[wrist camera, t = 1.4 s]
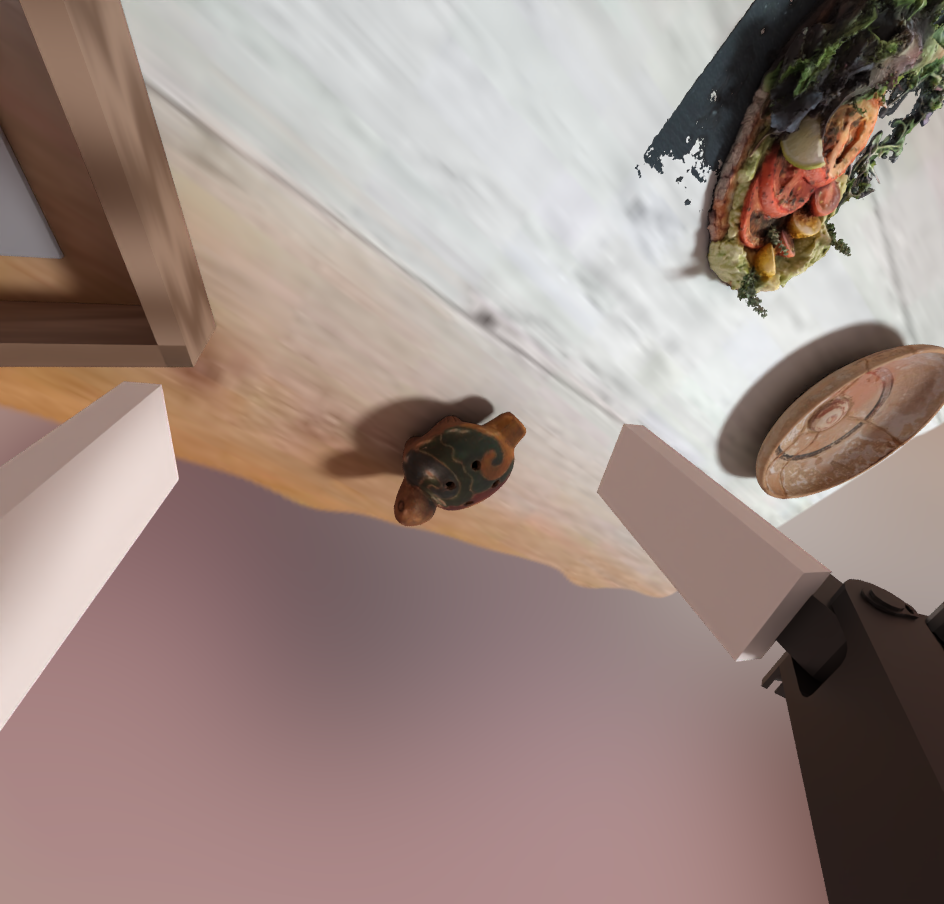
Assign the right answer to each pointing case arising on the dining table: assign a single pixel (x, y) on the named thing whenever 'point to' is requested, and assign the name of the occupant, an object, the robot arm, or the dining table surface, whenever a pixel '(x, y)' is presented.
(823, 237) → the plated dish
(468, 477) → the decorative turtle
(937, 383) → the ceramic bowl
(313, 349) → the dining table surface
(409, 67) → the dining table surface
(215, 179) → the dining table surface
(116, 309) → the corner walls
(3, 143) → the grey mat
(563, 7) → the dining table surface
